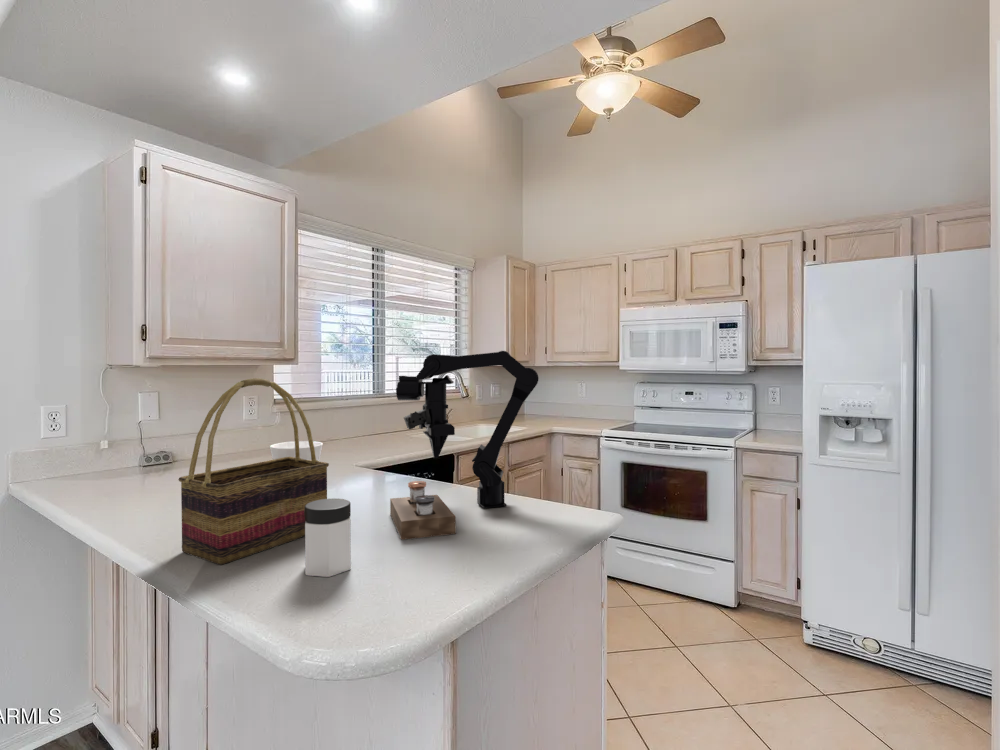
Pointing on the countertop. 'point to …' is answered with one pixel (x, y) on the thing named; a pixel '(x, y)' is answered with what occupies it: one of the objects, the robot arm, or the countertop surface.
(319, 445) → the cup
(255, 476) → the basket
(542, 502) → the countertop surface
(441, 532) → the socket block
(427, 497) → the grey plug
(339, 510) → the jar
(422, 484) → the copper capped plug
